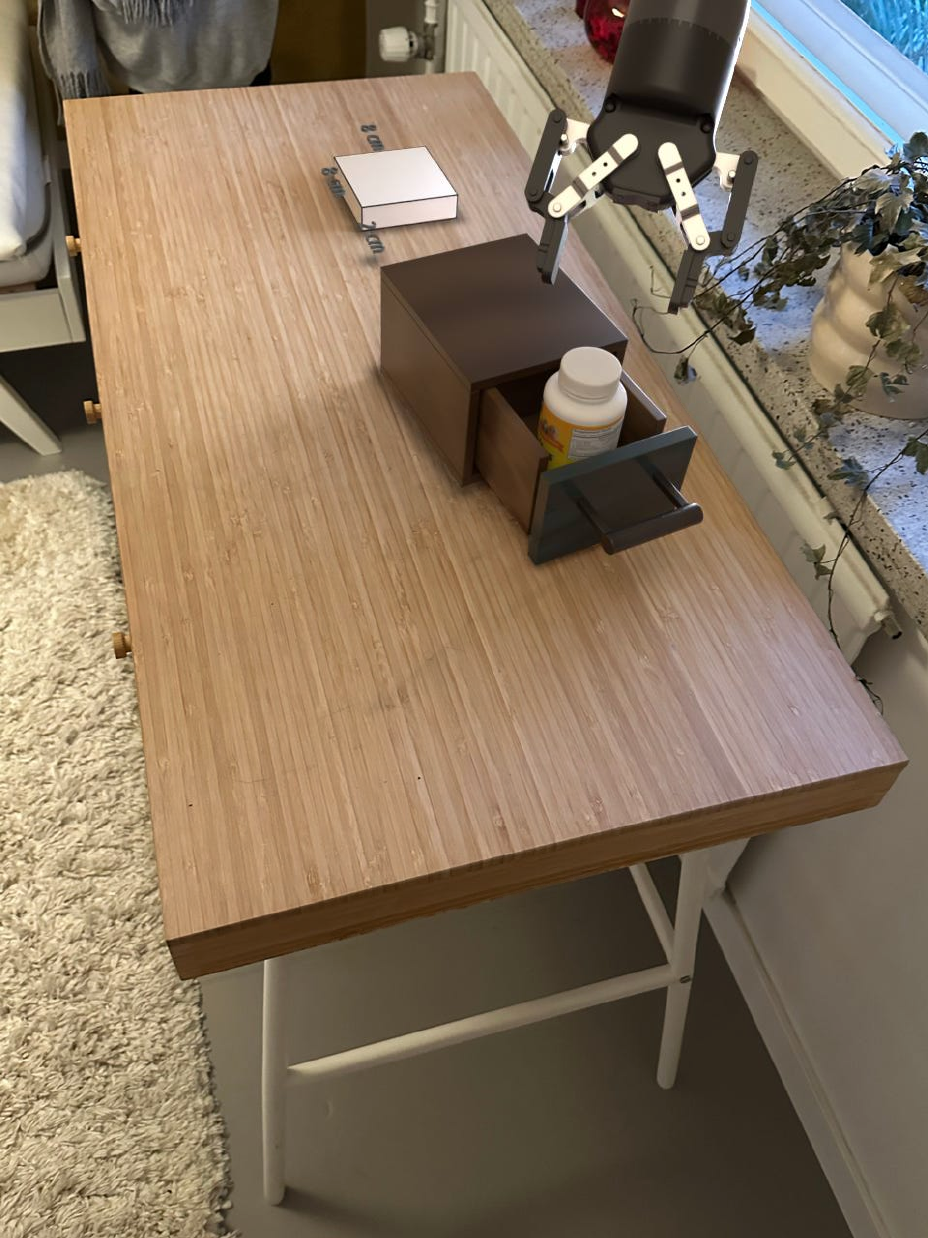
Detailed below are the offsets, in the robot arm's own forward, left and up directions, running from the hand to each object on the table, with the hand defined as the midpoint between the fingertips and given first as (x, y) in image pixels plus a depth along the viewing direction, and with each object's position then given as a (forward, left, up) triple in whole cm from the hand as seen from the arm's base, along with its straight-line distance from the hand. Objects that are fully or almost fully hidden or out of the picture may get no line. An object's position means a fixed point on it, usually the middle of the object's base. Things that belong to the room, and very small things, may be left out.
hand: (609, 296), depth 67 cm
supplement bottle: (+3, +4, -12) cm, 13 cm away
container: (-1, -39, -14) cm, 41 cm away
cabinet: (+4, -8, -14) cm, 16 cm away
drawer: (+3, +5, -13) cm, 14 cm away
